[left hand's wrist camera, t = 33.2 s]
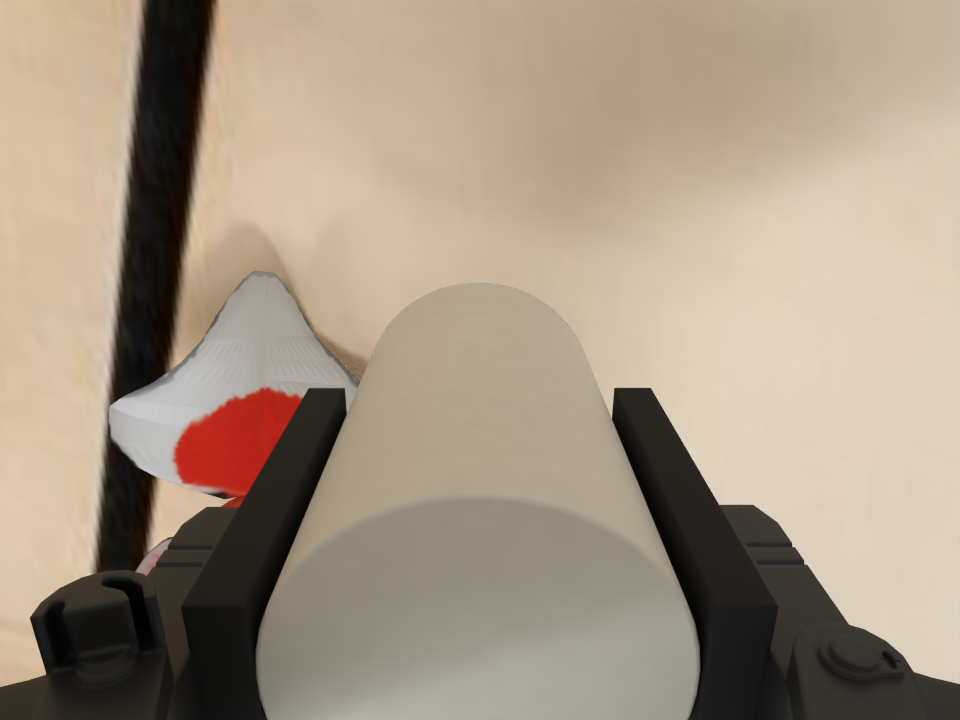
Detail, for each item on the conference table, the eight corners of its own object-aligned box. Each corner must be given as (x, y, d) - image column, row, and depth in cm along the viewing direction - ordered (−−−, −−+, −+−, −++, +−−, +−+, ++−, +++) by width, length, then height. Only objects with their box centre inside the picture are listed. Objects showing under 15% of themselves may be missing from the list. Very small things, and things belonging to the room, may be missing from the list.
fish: (34, 597, 28) (-6, 733, 19) (165, 245, 29) (185, 221, 21) (284, 630, 33) (343, 750, 24) (387, 327, 34) (479, 337, 26)
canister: (531, 241, 16) (594, 415, 7) (624, 433, 18) (762, 757, 9) (325, 344, 17) (160, 607, 8) (433, 516, 19) (393, 883, 10)
